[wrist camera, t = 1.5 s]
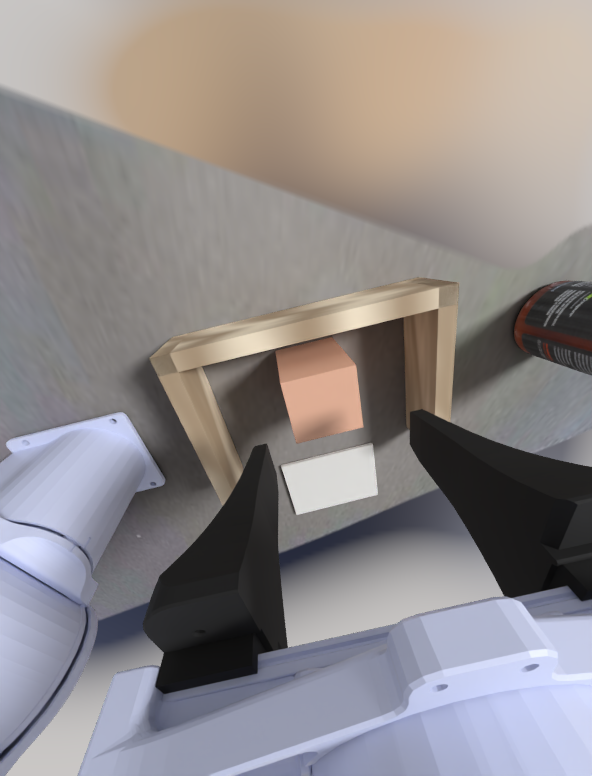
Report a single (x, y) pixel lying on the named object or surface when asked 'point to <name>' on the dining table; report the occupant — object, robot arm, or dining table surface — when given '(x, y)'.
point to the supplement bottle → (558, 325)
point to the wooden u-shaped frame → (402, 299)
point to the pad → (331, 478)
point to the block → (319, 389)
